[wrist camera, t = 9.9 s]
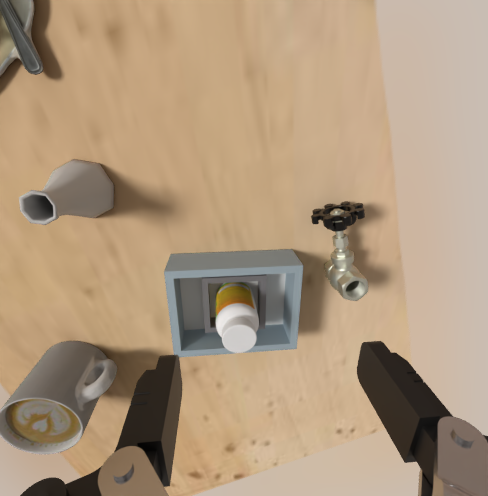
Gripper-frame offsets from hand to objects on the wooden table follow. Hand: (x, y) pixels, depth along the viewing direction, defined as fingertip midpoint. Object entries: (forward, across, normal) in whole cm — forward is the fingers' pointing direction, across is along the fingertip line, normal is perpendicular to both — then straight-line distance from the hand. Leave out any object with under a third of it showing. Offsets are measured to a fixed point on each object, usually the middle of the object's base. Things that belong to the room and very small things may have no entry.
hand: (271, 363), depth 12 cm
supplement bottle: (+26, 0, +13) cm, 29 cm away
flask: (+27, +18, -3) cm, 33 cm away
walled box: (+27, +1, +13) cm, 30 cm away
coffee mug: (+27, +24, +24) cm, 43 cm away
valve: (+28, -14, +6) cm, 31 cm away
